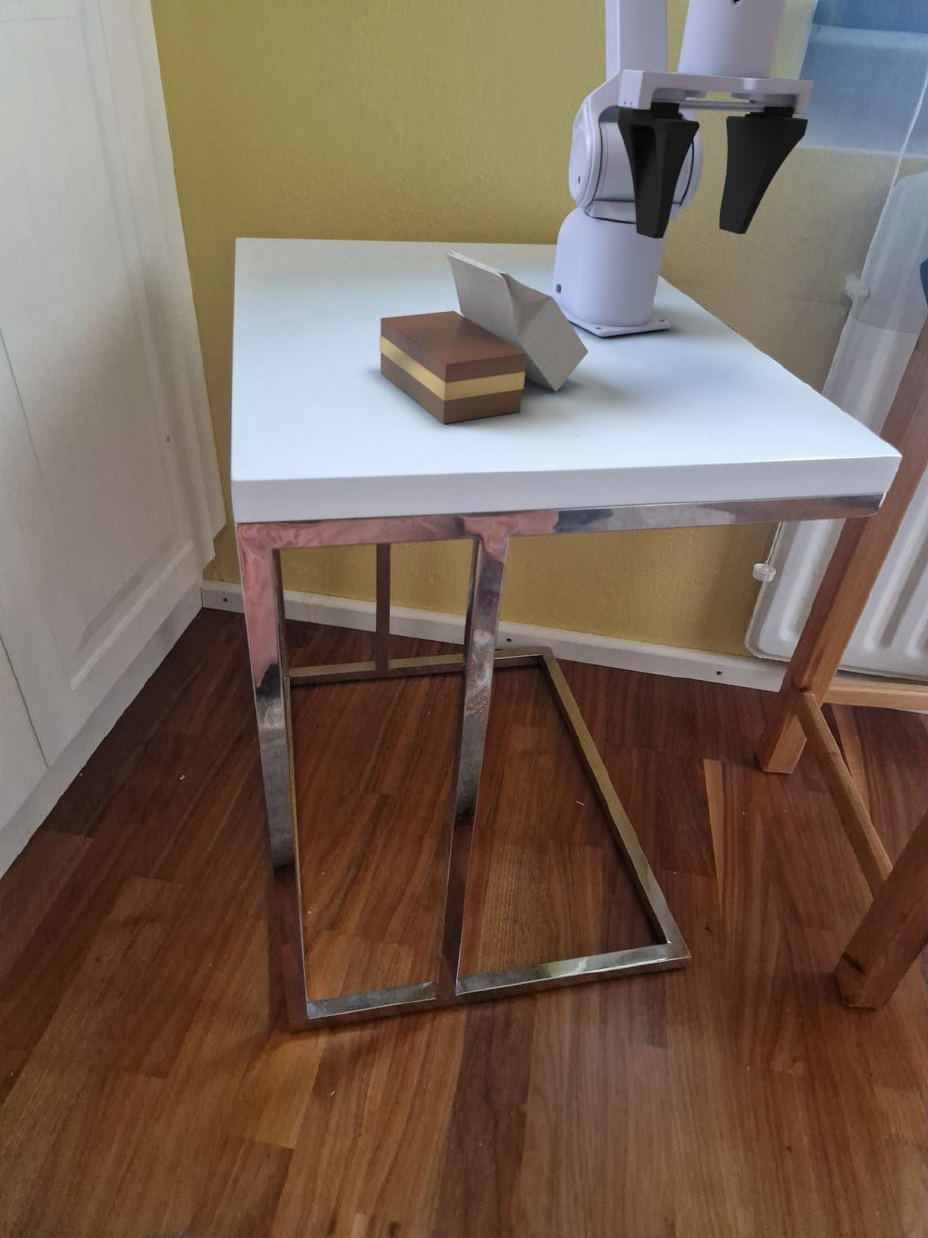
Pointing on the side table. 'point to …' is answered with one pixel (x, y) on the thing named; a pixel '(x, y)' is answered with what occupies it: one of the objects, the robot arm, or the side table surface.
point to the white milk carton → (519, 319)
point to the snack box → (452, 365)
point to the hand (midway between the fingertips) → (691, 233)
